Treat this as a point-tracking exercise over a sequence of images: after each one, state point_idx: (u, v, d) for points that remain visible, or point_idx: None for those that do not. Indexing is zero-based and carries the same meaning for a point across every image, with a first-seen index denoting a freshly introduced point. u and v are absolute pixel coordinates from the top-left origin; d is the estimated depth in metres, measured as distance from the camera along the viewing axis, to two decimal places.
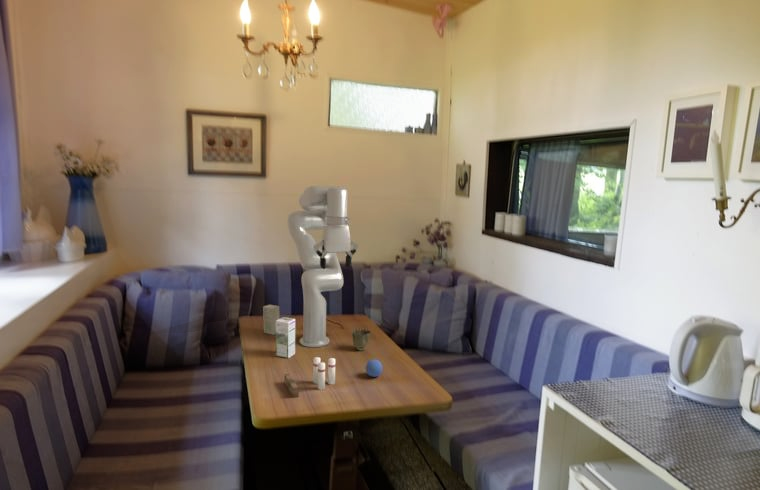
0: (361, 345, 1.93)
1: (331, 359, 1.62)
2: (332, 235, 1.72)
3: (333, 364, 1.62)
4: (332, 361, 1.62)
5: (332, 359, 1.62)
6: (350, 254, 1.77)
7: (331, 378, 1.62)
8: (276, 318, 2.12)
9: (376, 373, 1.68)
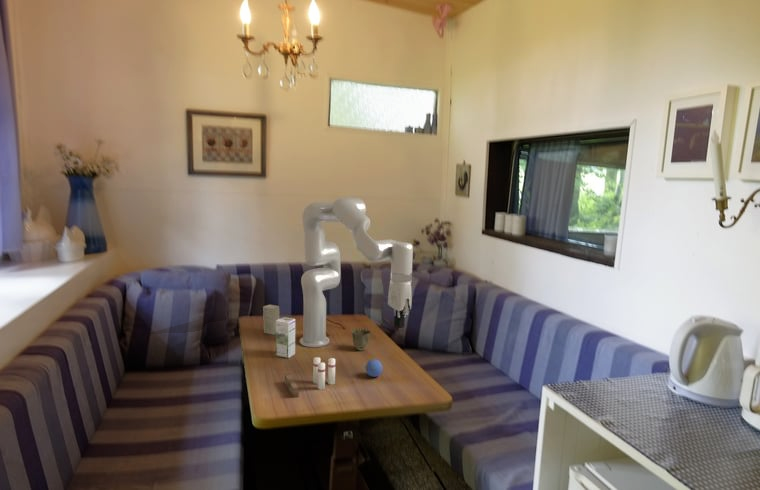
0: (361, 345, 1.93)
1: (331, 359, 1.62)
2: None
3: (333, 364, 1.62)
4: (332, 361, 1.62)
5: (332, 359, 1.62)
6: None
7: (331, 378, 1.62)
8: (276, 318, 2.12)
9: (376, 373, 1.68)
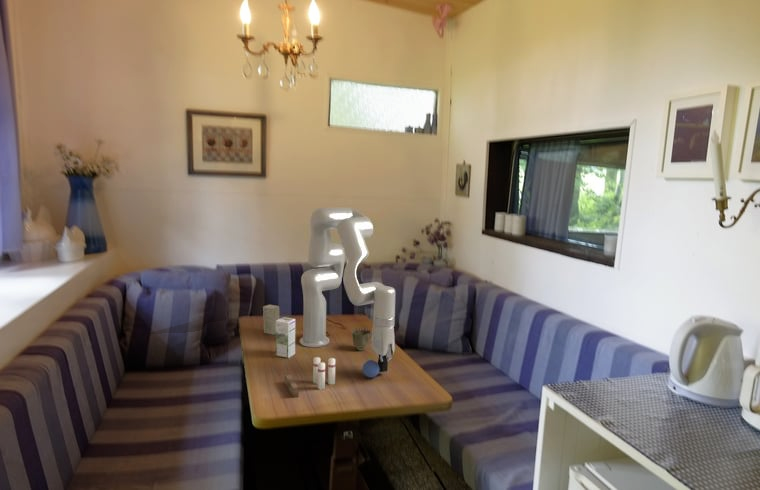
0: (361, 345, 1.93)
1: (331, 359, 1.62)
2: None
3: (333, 364, 1.62)
4: (332, 361, 1.62)
5: (332, 359, 1.62)
6: None
7: (331, 378, 1.62)
8: (276, 318, 2.12)
9: (373, 374, 1.67)
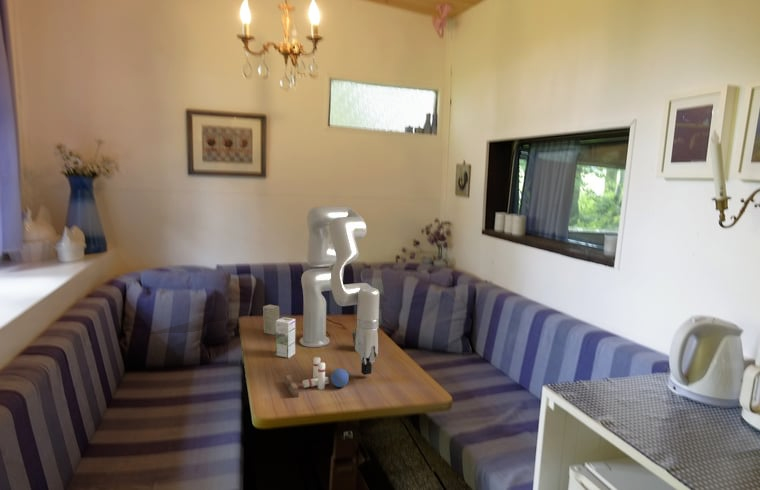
0: None
1: (303, 384, 1.59)
2: None
3: (308, 384, 1.59)
4: (305, 386, 1.58)
5: (303, 384, 1.59)
6: None
7: None
8: (276, 318, 2.12)
9: (342, 383, 1.59)
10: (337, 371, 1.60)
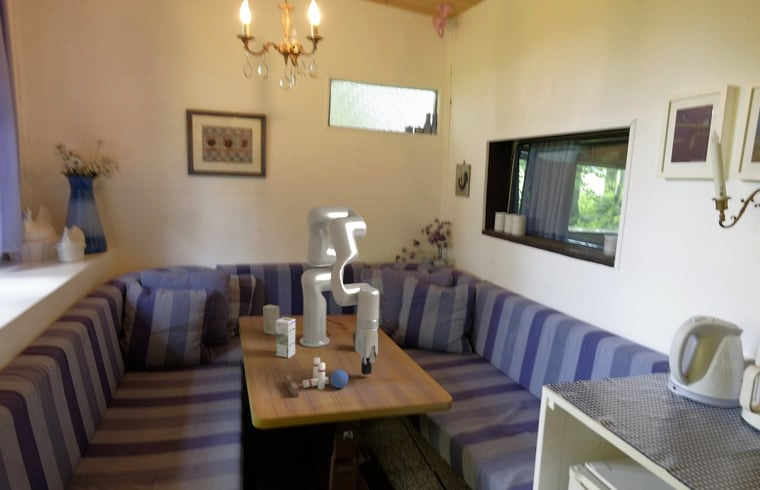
0: None
1: (303, 384, 1.59)
2: None
3: (308, 384, 1.59)
4: (305, 386, 1.58)
5: (303, 384, 1.59)
6: None
7: None
8: (276, 318, 2.12)
9: (342, 386, 1.58)
10: (336, 374, 1.58)
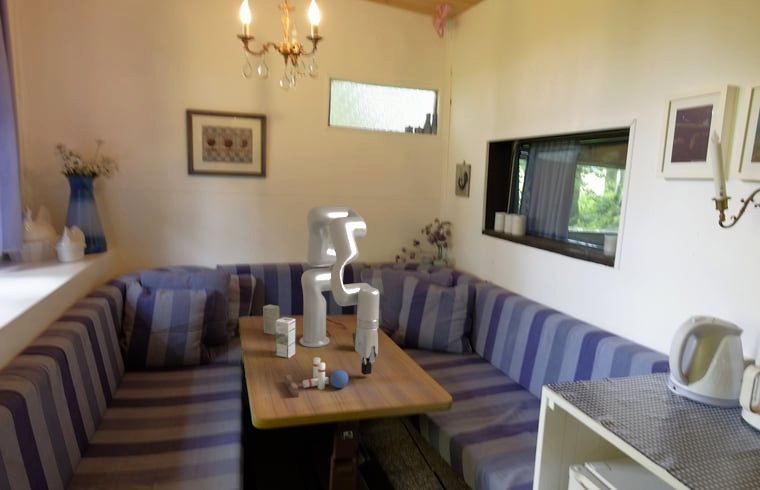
0: None
1: (303, 384, 1.59)
2: None
3: (308, 384, 1.59)
4: (305, 386, 1.58)
5: (303, 384, 1.59)
6: None
7: None
8: (276, 318, 2.12)
9: (342, 386, 1.58)
10: (336, 374, 1.58)
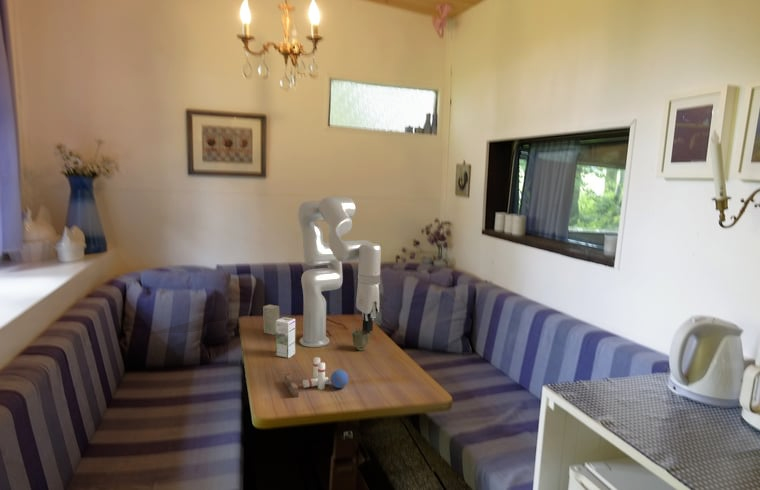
0: (361, 345, 1.93)
1: (303, 384, 1.59)
2: None
3: (308, 384, 1.59)
4: (305, 386, 1.58)
5: (303, 384, 1.59)
6: None
7: None
8: (276, 318, 2.12)
9: (342, 386, 1.58)
10: (336, 374, 1.58)
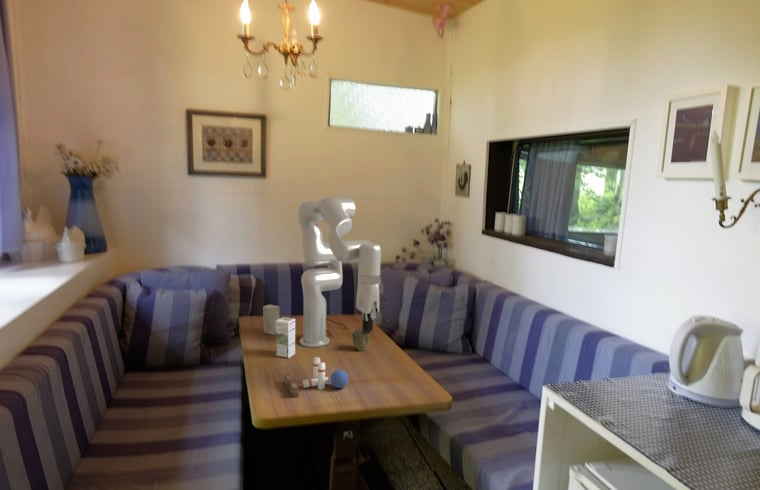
0: (361, 345, 1.93)
1: (303, 384, 1.59)
2: None
3: (308, 384, 1.59)
4: (305, 386, 1.58)
5: (303, 384, 1.59)
6: None
7: None
8: (276, 318, 2.12)
9: (342, 386, 1.58)
10: (336, 374, 1.58)
